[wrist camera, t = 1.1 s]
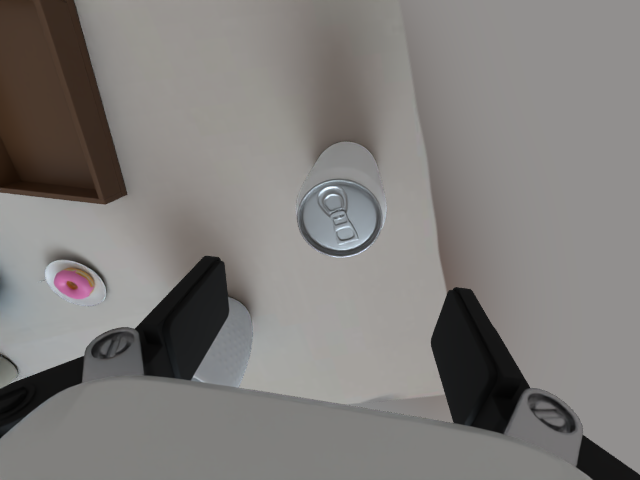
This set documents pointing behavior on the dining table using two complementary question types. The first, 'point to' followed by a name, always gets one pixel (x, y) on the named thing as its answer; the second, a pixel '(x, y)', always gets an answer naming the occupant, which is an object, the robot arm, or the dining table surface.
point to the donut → (75, 282)
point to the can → (342, 201)
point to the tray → (52, 108)
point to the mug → (228, 349)
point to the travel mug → (6, 372)
